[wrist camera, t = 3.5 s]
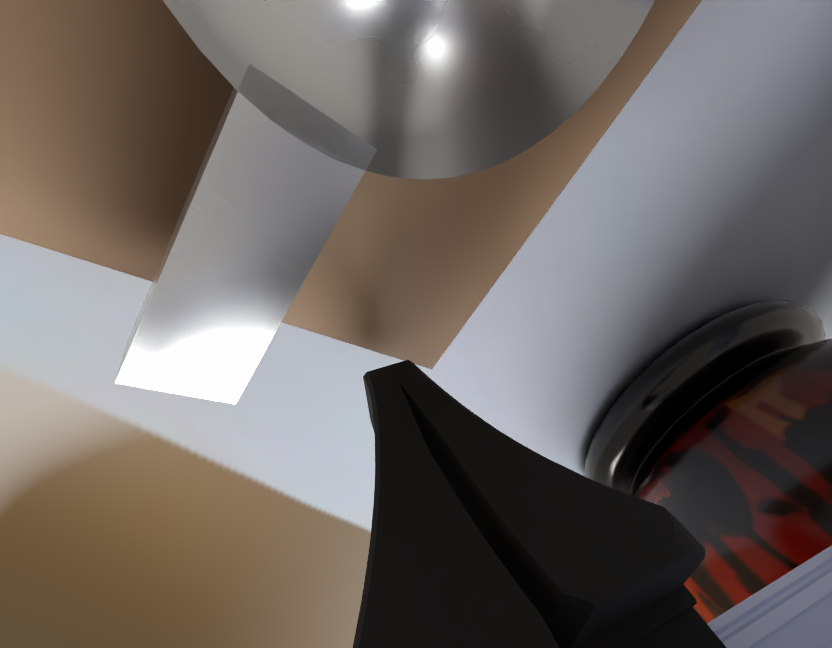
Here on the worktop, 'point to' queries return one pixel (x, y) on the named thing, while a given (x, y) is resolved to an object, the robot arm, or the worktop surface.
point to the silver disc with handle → (344, 145)
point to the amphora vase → (732, 446)
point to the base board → (189, 141)
